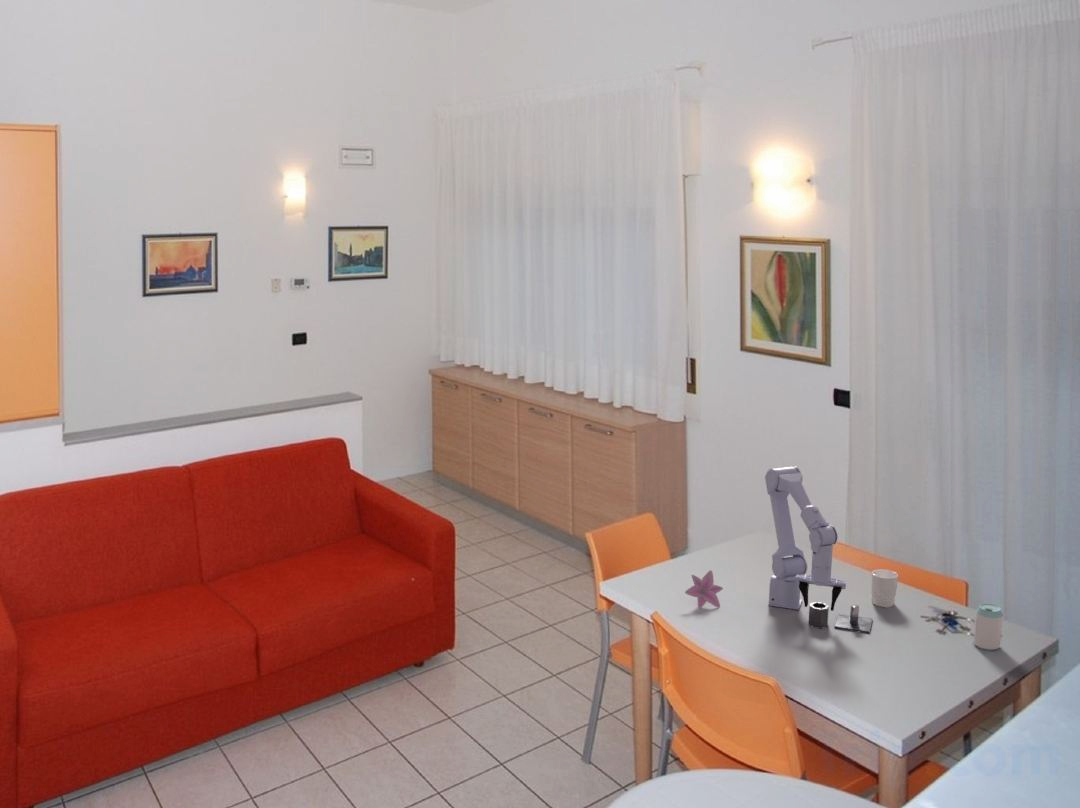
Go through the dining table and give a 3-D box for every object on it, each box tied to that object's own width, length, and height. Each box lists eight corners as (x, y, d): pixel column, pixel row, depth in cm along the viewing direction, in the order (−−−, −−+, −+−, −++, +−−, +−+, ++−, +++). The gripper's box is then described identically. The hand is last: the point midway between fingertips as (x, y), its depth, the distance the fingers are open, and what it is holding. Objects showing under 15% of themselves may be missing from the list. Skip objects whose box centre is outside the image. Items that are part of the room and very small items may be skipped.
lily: (678, 608, 320) (687, 589, 314) (683, 582, 330) (693, 563, 324) (714, 622, 319) (724, 602, 313) (718, 595, 329) (728, 576, 323)
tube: (807, 626, 305) (808, 607, 304) (810, 619, 310) (811, 600, 309) (826, 629, 303) (827, 610, 302) (828, 622, 308) (829, 603, 307)
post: (834, 628, 304) (835, 610, 302) (838, 615, 313) (839, 597, 311) (869, 633, 300) (870, 615, 299) (872, 620, 309) (873, 602, 308)
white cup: (897, 609, 317) (899, 579, 315) (871, 607, 319) (873, 577, 317) (894, 599, 325) (896, 570, 323) (868, 597, 326) (870, 568, 324)
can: (1004, 651, 288) (1008, 611, 286) (980, 652, 288) (984, 612, 285) (991, 640, 295) (995, 601, 293) (968, 641, 295) (972, 602, 292)
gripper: (794, 566, 302) (792, 608, 304) (845, 573, 296) (842, 616, 299) (798, 558, 308) (796, 600, 311) (847, 565, 302) (845, 607, 305)
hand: (819, 607), depth 305 cm, fingers open, 7 cm apart
